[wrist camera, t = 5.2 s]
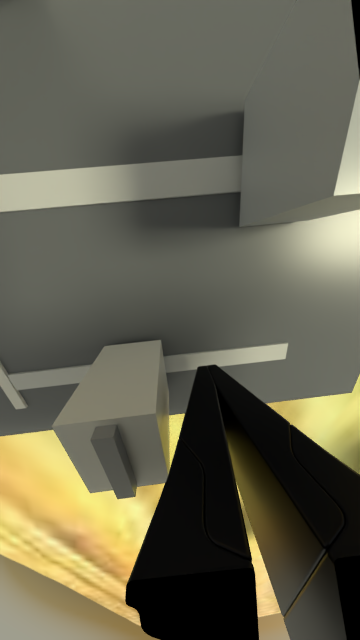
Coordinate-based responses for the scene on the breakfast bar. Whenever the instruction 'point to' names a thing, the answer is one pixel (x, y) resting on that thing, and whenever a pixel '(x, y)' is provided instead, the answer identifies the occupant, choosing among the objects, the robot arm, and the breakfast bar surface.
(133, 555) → the breakfast bar surface
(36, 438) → the breakfast bar surface
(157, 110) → the console
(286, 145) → the fader
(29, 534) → the breakfast bar surface
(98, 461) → the fader
